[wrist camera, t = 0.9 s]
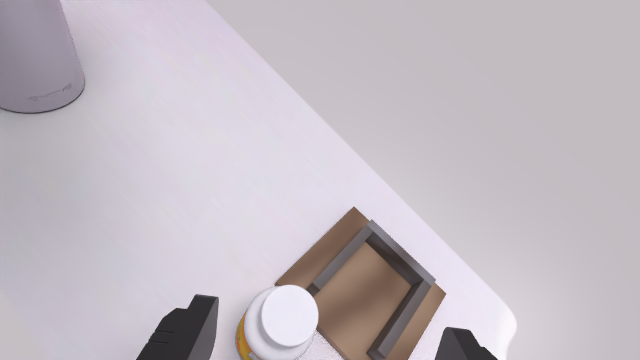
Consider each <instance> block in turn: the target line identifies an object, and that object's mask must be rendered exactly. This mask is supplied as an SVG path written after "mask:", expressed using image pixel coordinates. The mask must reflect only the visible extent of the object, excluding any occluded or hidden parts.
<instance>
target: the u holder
mask: <svg viewBox="0 0 640 360" xmlns="http://www.w3.org/2000/svg"><path fill="white" fill-rule="evenodd" d="M435 281H436V279H435V278H434V277H433V276H432V275H430V274H429V273H428V272H427V271H426V270H425V269H424V268H423V267H422V266H421V265H420V264H419V263H418V262H417V261H416V260H415V259H413V258H412V257H411V256H410V255H409V254H408V253H407V252H406V251H405V250H404V249H403V248H402V247H401V246H400V245H399V244H398V243H397V242H395V241H394V240H393V239H392V238H391V237H390V236H389V235H388V234H387V233H386V232H385V231H384V230H383V229H382V228H381V227H380V226H378V225H377V224H376V223H375V222H374V221H373V220H371V221H369V220H368V219H367V218H366V217H365V216H364V215H363V214H361V213H360V212H359V211H358V210H357V209H356V208H355V207H353V208H352V209H351V210H350V211H349V212H348V213H347V214H346V215H345V216H344V217H343V218H342V219H341V220H340V221H339V222H338V223H337V224H336V225H335V226H333V227H332V228H331V229H330V230H329V231H328V232H327V233H326V234H325V235H324V236H323V237H322V238H321V239H320V240H319V241H318V242H317V243H316V244H315V245H314V246H313V247H312V248H311V249H310V250H309V251H308V252H307V253H306V254H305V255H304V256H302V257H301V258H300V259H299V260H298V261H297V262H296V263H295V264H294V265H293V266H292V267H291V268H290V269H289V270H288V271H287V272H286V273H285V274H284V275H283V276H282V277H281V278H280V279H279V280H278V281H277V282H276V283H275V286H284V285H295V286H299V287H301V288H303V289H305V290H306V291H307V292H308V293H309V294H310V295H311V296H312V297H313V299H314V300H315V302H316V305H317V308H318V324H317V327H316V329H317V330H318V331H319V332H320V334H321V335H322V336H323V337H324V338H325V339H326V340H327V341H328V342H329V343H330V344H331V345H332V346H333V347H334V348H335V350H336V351H337V352H338V353H339V354H340V355H341V356H342V357H343V358H344V359H345V360H408V358H409V357H410V355H411V353H412V352H413V350H414V348H415V346H416V345H417V343H418V341H419V340H420V338H421V336H422V334H423V333H424V331H425V329H426V328H427V326H428V324H429V322H430V321H431V319H432V317H433V316H434V314H435V312H436V311H437V309H438V307H439V305H440V304H441V302H442V300H443V299H444V297H445V295H446V293H445V292H444V291H443V290H442V289H441V288H440V287H439V286H438V285H437V284H436V283H434V282H435Z"/></svg>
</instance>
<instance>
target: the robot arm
mask: <svg viewBox="0 0 640 360" xmlns="http://www.w3.org/2000/svg"><path fill="white" fill-rule="evenodd" d="M84 83H85V80H84V75H83V72H82V69H81V66H80V62H79V59H78V56H77V53H76V50H75V46H74V43H73V40H72V37H71V34H70V31H69V28H68V25H67V22H66V19H65V15H64V12H63V9H62V6H61V3H60V0H0V108H3V109H7V110H10V111H16V112H24V113H31V112H43V111H49V110H53V109H57V108H60V107H62V106H64V105H66V104H68V103H70V102H71V101H73V100H74V99H76V98H77V97H78V96H79V95H80V93H81V92H82V90H83V88H84ZM218 304H219V298H218V297H214V296H206V295H198V294H196V295H195V296H194V298H193V300H192V302H191V303H190V305H189V307H188V309H181V308H176V309H174V310H173V311H172V312H170V313H169V314H168V315H166V316H165V317H164V318H163V319H162V320H161V322H160V323H159V325H158V327H157V328H156V330H155V333H153V334H152V336H151V337H150V339H149V340H148V343H147V344H146V345H145V347H144V348H143V350H142V351H141V353H140V354H139V356H138V357H137V359H136V360H209V359H210V356H211V353H212V350H213V347H214V343H215V337H216V328H217V316H218ZM435 360H498V359H497V358H496V357H495V356H493V355H492V354H491V353H490V352H489V351H488V350H487V349H486V348H485V347H480V345H479V344H478V342H477V340H476V339H475V337H474V336H473V334H472V332H471V331H470V330H467V329H460V328H452V327H446V328H445V329H444V331H443V335H442V338H441V341H440V344H439V347H438V351H437V354H436V357H435Z"/></svg>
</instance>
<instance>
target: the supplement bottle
mask: <svg viewBox="0 0 640 360" xmlns="http://www.w3.org/2000/svg"><path fill="white" fill-rule="evenodd" d="M317 324H318V308H317V305H316V302H315V300H314V299H313V297H312V296H311V295H310V294H309V293H308V292H307V291H306V290H305V289H303V288H301V287H299V286H295V285H284V286H276V287H271V288H269V289H266V290H265V291H263V292H261V293H260V294H259V295H258V296H257V297H256V298H255V299H254V300H253V301H252V303H251V304H250V305H249V307H248V309H247V311H246V313H245V314H244V316H243V317H242V319H241V321H240V323H239V325H238V328H237V331H236V347H237V351H238V353H239V355H240V357H241V359H242V360H296V359H297V358H298V357H300V356H301V355H302V354H303V353H305V351H306V350H307V349H308V348H309V346H310V344H311V343H312V341H313V338H314V335H315V330H316V327H317Z"/></svg>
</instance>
